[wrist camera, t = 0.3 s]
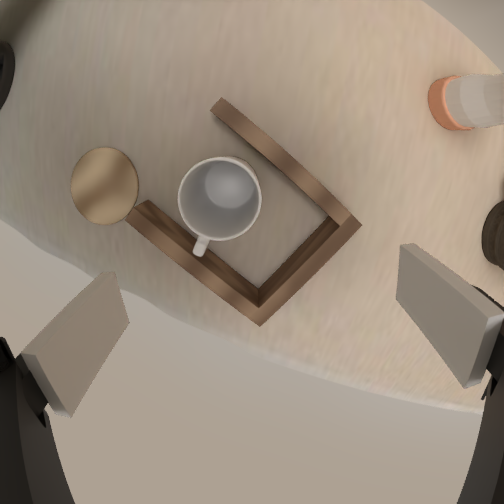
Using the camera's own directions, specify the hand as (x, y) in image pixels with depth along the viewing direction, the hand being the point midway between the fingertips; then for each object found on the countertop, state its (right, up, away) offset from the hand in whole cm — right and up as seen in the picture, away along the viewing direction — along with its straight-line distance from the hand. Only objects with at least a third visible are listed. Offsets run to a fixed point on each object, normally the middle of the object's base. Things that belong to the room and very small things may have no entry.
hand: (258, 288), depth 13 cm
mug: (-3, +8, +23) cm, 24 cm away
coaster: (-19, +10, +22) cm, 31 cm away
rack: (-2, +7, +23) cm, 24 cm away
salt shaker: (+26, +21, +18) cm, 38 cm away
